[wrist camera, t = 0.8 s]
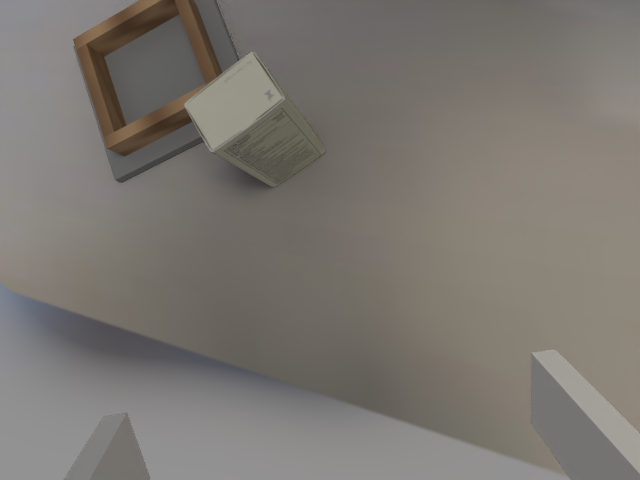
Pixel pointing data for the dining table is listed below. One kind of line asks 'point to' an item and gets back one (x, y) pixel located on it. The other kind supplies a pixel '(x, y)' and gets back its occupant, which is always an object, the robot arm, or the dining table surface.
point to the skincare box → (254, 123)
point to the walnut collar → (129, 24)
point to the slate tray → (161, 83)
